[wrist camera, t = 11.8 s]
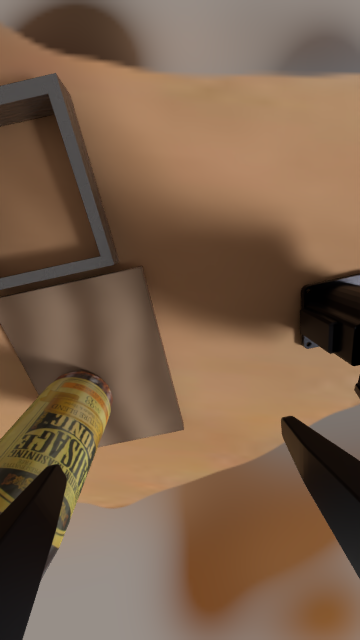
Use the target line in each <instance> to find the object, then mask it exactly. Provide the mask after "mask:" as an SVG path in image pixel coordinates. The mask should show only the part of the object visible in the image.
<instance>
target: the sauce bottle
mask: <svg viewBox="0 0 360 640" xmlns="http://www.w3.org/2000/svg"><path fill="white" fill-rule="evenodd" d="M112 402H113V398H112V393H111V390H110V388H109V386H108V384H106V382H105V381H104V380H102V379H101V378H100V377H98V376H96V375H94V374H91V373H88V372H85V371H75V372H71V373H67V374H63V375H62V376H60V377H58V378H57V379H56V380H55V381H54V382H53V383H51V384H50V385H49V386H48V387H47V388H46V389H45V390H44V391H43V392H42V393H41V394H40V396H39V397H38V398H37V399H36V400H35V401H34V402H33V403H32V405H31V406H30V407H29V408H28V409H27V410H26V411H25V412H24V413H23V415H22V416H21V417H20V418H19V419H18V420H17V421H16V423H15V424H14V425H13V426H12V427H11V428H10V429H9V430H8V431H7V433H6V434H5V435H4V436H3V437H2V438H1V439H0V514H1V513H2V512H3V511H4V510H5V509H6V508H7V507H8V506H9V505H10V504H11V503H12V502H13V501H14V500H15V499H16V498H17V497H18V495H19V494H20V493H21V492H22V491H23V490H24V489H25V488H26V487H27V486H28V485H29V484H30V483H31V482H32V481H33V480H34V479H35V478H36V477H37V476H38V475H39V474H40V473H41V472H42V471H43V470H44V469H45V468H46V467H47V466H49V465H54V464H59V465H60V466H61V468H62V470H63V472H64V473H65V475H66V477H67V485H66V489H65V494H64V498H63V503H62V507H61V512H60V516H59V520H58V525H57V529H56V532H55V536H54V539H53V543H52V546H51V549H50V552H49V555H48V559H47V562H46V565H45V568H44V572H43V575H44V574H45V572H46V570H47V568H48V567H49V565H50V563H51V561H52V559H53V557H54V556H55V554H56V552H57V550H58V549H59V547H60V544H61V542H62V539H63V537H64V534H65V531H66V529H67V527H68V524H69V521H70V518H71V515H72V513H73V510H74V508H75V505H76V503H77V500H78V497H79V495H80V493H81V490H82V487H83V484H84V482H85V479H86V477H87V474H88V471H89V469H90V466H91V463H92V461H93V458H94V456H95V453H96V450H97V448H98V445H99V442H100V440H101V437H102V435H103V432H104V429H105V427H106V424H107V421H108V419H109V416H110V412H111V405H112ZM43 575H42V577H43ZM41 579H42V578H41Z"/></svg>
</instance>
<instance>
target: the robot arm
mask: <svg viewBox="0 0 360 640" xmlns="http://www.w3.org/2000/svg"><path fill="white" fill-rule="evenodd" d="M308 289H309V292H308V293H307V290H308ZM300 333H301V334H302V346H304V347H305V348H307V349H309V348H314V347H319V346H320V347H321V348H323V349H324V350H325V351H327V352H328V353H330V354H332V353H334V354H336V355H337V356H339V357H340V358H342V359H343V360H345V361H346V362H348V363H349V364H351V365H352V366H358V365H360V274H356V275H351V276H347V277H342V278H337V279H333V280H328V281H323V282H319V283H314V284H309V285H306V286H304V287H303V288H302V291H301V310H300ZM308 342H309V343H308ZM307 343H308V344H307ZM306 344H307V345H306ZM354 390H355V392H356V394H357V395H358V397H359V398H360V376H359V380H358V383H357V384H356V385H355V389H354ZM281 428H282V436H283V439H284V441H285V443H286V445H287V447H288V450H289V452H290V454H291V456H292V458H293V460H294V462H295V465H296V467H297V469H298V471H299V473H300V475H301V478H302V479H303V481H304V483H305V485H306V487H307V489H308V491H309V492H310V494H311V496H312V497H313V499H314V501H315V503H316V504H317V506H318V508H319V510H320V511H321V513H322V515H323V516H324V518H325V520H326V522H327V523H328V525H329V527H330V529H331V530H332V532H333V534H334V535H335V537H336V539H337V540H338V542H339V544H340V545H341V547H342V549H343V551H344V553H345V554H346V556H347V558H348V560H349V561H350V563H351V565H352V566H353V568H354V570H355V572H356V573H357V575H358V577H359V578H360V461H359V460H357V459H356V458H355V457H353V456H352V455H350V454H348V453H347V452H345V451H344V450H343V449H341V448H340V447H338V446H337V445H335V444H334V443H332V442H331V441H329V440H327V439H326V438H324V437H323V436H322V435H320V434H319V433H317V432H316V431H314V430H313V429H311V428H310V427H308V426H307V425H305V424H304V423H302V422H301V421H299V420H298V419H296V418H295V417H293V416H287V417H283V418H282V419H281ZM66 485H67V477H66V475H65V473H64V472H63V470H62V468H61V466H60V465H59V464H54V465H49V466H47V467H46V468H45V469H44V470H43V471H42V472H41V473H40V474H39V475H38V476H37V477H36V478H35V479H34V480H33V481H32V482H31V483H30V484H29V485H28V486H27V487H26V488H25V489H24V490H23V491H22V492H21V493H20V494H19V495H18V497H17V498H16V499H15V500H14V501H13V502H12V503H11V504H10V505H9V506H8V507H7V508H6V509H5V510H4V511H3V512H2V513H1V514H0V640H22V639H23V636H24V632H25V629H26V626H27V623H28V620H29V616H30V613H31V610H32V607H33V604H34V601H35V597H36V594H37V591H38V588H39V584H40V581H41V578H42V575H43V572H44V568H45V565H46V562H47V559H48V555H49V552H50V549H51V546H52V543H53V539H54V536H55V532H56V529H57V525H58V520H59V516H60V512H61V507H62V503H63V498H64V494H65V489H66Z"/></svg>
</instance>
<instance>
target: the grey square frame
mask: <svg viewBox="0 0 360 640" xmlns="http://www.w3.org/2000/svg"><path fill="white" fill-rule="evenodd" d="M53 114H55V116H56V119H57V122H58V126H59V129H60V132H61V135H62V138H63V141H64V144H65V147H66V150H67V153H68V157H69V160H70V163H71V166H72V169H73V172H74V175H75V178H76V181H77V184H78V188H79V191H80V194H81V197H82V200H83V203H84V206H85V209H86V212H87V215H88V219H89V222H90V225H91V228H92V231H93V234H94V237H95V240H96V243H97V246H98V250H99V253H100V256H99V257H95V258H90V259H86V260H81V261H76V262H72V263H67V264H63V265H58V266H54V267H49V268H45V269H40V270H35V271H31V272H26V273H22V274H17V275H13V276H8V277H4V278H0V290H1V289H5V288H10V287H15V286H19V285H24V284H28V283H33V282H37V281H42V280H47V279H51V278H56V277H60V276H65V275H69V274H74V273H79V272H83V271H88V270H92V269H97V268H101V267H106V266H111V265H115V264H117V263H119V259H118V255H117V252H116V249H115V245H114V242H113V238H112V235H111V232H110V228H109V225H108V221H107V218H106V215H105V211H104V208H103V205H102V201H101V198H100V194H99V191H98V188H97V184H96V181H95V177H94V174H93V171H92V167H91V164H90V161H89V157H88V154H87V150H86V147H85V144H84V140H83V137H82V134H81V130H80V127H79V123H78V120H77V117H76V113H75V110H74V106H73V103H72V100H71V96H70V94H69V92H68V91H67V89H66V88H65V86H64V85H63V83H62V82H61V80H60V79H59V77H58V76H57V74H56V73H54V74H50V75H45V76H41V77H37V78H33V79H28V80H24V81H20V82H16V83H11V84H7V85H3V86H0V127H1V126H5V125H9V124H14V123H18V122H22V121H27V120H31V119H35V118H40V117H44V116H48V115H53Z"/></svg>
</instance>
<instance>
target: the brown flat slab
mask: <svg viewBox="0 0 360 640" xmlns="http://www.w3.org/2000/svg"><path fill="white" fill-rule="evenodd" d="M0 324H1V325H2V327H3V329H4V331H5V333H6V335H7V337H8V338H9V340H10V342H11V344H12V346H13V348H14V350H15V351H16V353H17V355H18V357H19V359H20V361H21V363H22V365H23V366H24V368H25V370H26V372H27V374H28V376H29V378H30V379H31V381H32V383H33V385H34V387H35V389H36V391H37V392H38V394H39V396H40V394H41V393H42V392H43V391H44V390H45V389H46V388H47V387H48V386H49V385H50V384H51V383H53V382H54V381H55V380H56V379H57V378H58V377H60V376H62V375H63V374H67V373H71V372H75V371H85V372H88V373H91V374H94V375H96V376H98V377H100V378H101V379H102V380H104V381H105V382H106V384H108V386H109V388H110V390H111V393H112V398H113V402H112V405H111V412H110V416H109V419H108V421H107V424H106V427H105V429H104V432H103V435H102V437H101V440H100V442H99V445H98V447H102V446H107V445H112V444H117V443H122V442H127V441H132V440H136V439H141V438H146V437H151V436H156V435H161V434H166V433H171V432H176V431H180V430H184V426H183V420H182V416H181V412H180V409H179V405H178V401H177V397H176V393H175V389H174V386H173V382H172V378H171V374H170V370H169V366H168V363H167V359H166V355H165V351H164V347H163V343H162V340H161V336H160V332H159V328H158V324H157V320H156V317H155V313H154V309H153V305H152V301H151V297H150V294H149V290H148V286H147V282H146V278H145V275H144V271H143V267H142V266H140V267H135V268H131V269H126V270H122V271H117V272H112V273H108V274H103V275H99V276H94V277H90V278H85V279H80V280H76V281H71V282H67V283H62V284H57V285H53V286H48V287H44V288H39V289H35V290H30V291H25V292H21V293H16V294H12V295H7V296H2V297H0Z"/></svg>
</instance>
